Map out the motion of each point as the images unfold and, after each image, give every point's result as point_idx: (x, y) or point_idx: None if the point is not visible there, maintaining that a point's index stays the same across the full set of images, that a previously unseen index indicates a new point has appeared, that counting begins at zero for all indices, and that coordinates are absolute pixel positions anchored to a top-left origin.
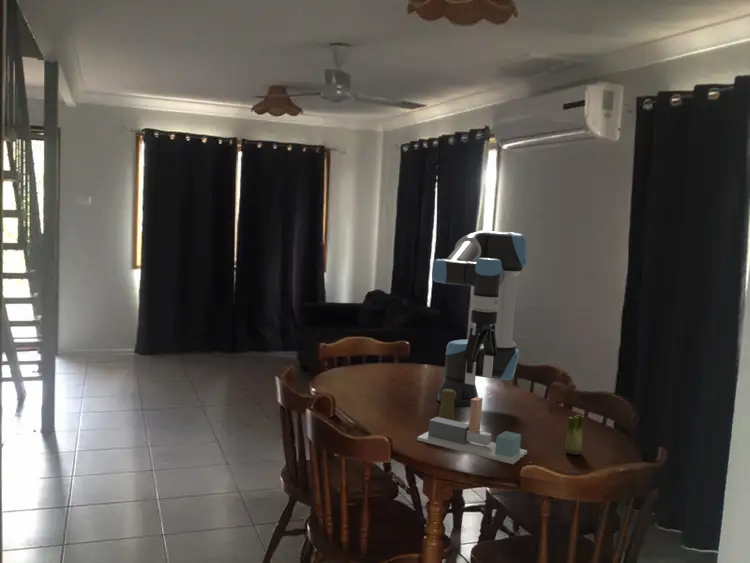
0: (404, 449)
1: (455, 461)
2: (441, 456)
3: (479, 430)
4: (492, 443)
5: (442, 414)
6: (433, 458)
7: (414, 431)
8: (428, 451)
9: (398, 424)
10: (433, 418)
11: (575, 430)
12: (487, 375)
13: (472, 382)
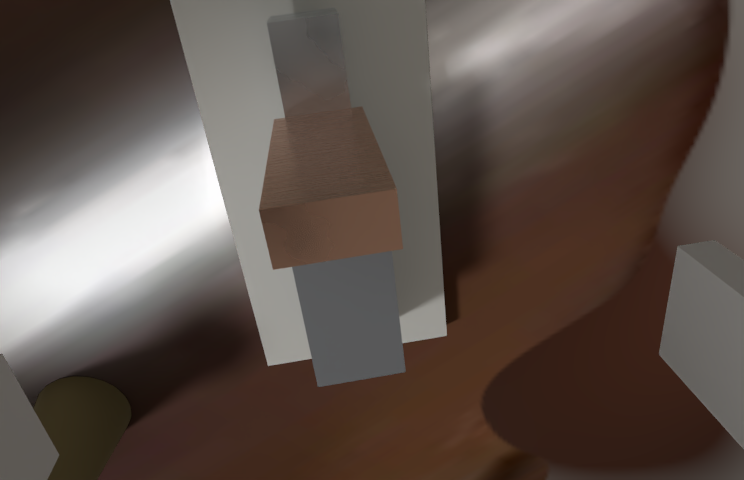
0: (588, 287)
1: (591, 45)
2: (567, 135)
3: (280, 118)
4: (208, 36)
5: (111, 440)
6: (617, 144)
7: (346, 396)
8: (543, 213)
9: (322, 473)
10: (362, 377)
11: None
12: (17, 416)
13: (736, 269)
